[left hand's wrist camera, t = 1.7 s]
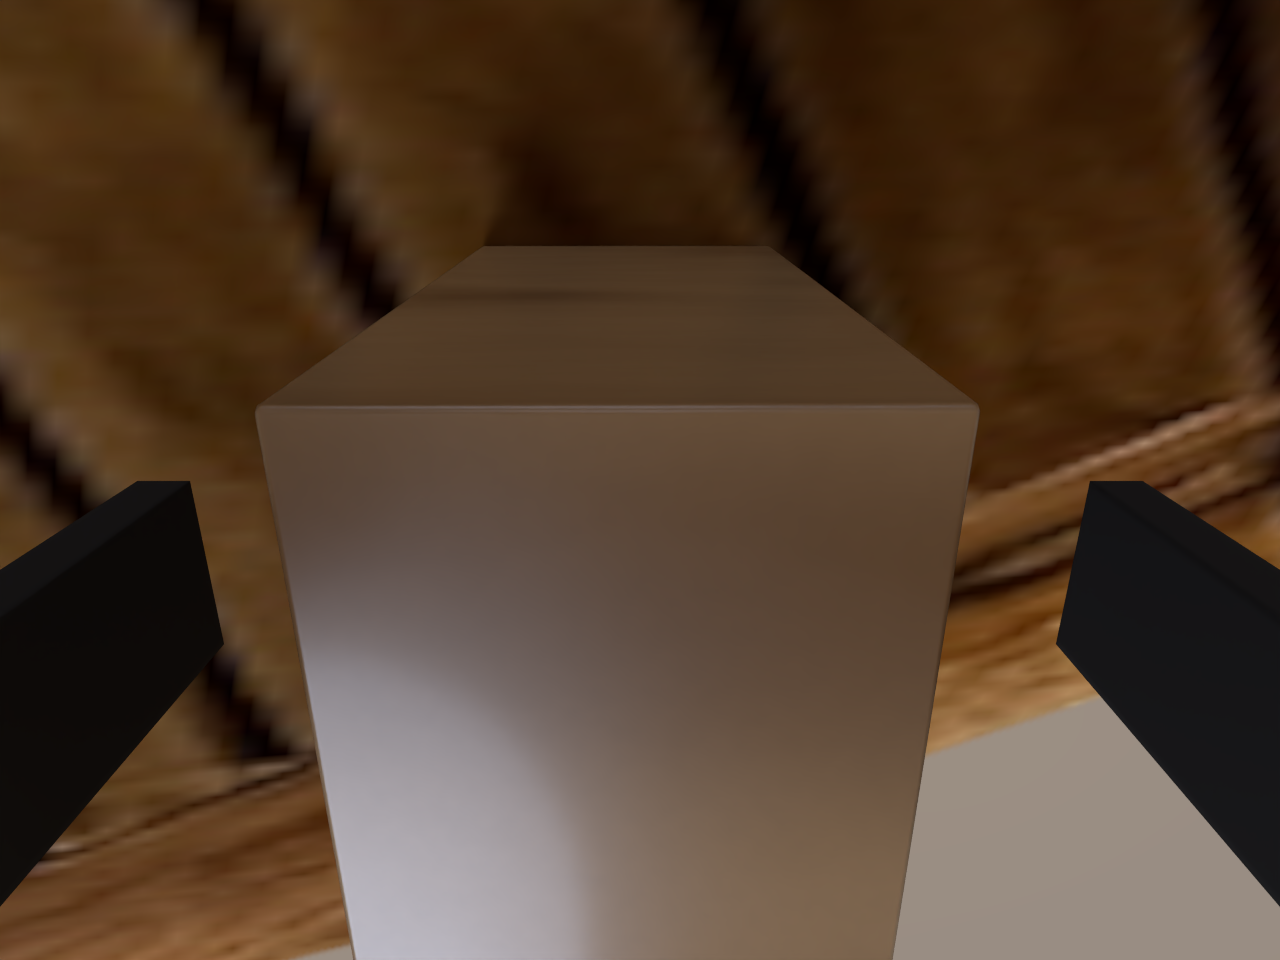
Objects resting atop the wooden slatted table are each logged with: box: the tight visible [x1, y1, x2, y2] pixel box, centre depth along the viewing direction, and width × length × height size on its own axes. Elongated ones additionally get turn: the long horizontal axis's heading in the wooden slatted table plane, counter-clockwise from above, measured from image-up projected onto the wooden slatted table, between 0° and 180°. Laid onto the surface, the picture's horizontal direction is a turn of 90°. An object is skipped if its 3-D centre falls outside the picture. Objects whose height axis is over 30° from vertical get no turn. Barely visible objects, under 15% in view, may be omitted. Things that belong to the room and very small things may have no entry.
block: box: [255, 246, 980, 960], centre depth 13 cm, size 7×6×11 cm
